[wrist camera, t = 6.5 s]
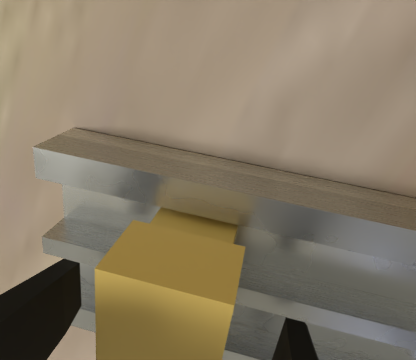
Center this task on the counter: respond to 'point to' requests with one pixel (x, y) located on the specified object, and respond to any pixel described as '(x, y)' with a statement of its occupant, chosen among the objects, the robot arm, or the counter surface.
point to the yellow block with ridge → (168, 289)
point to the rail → (250, 241)
